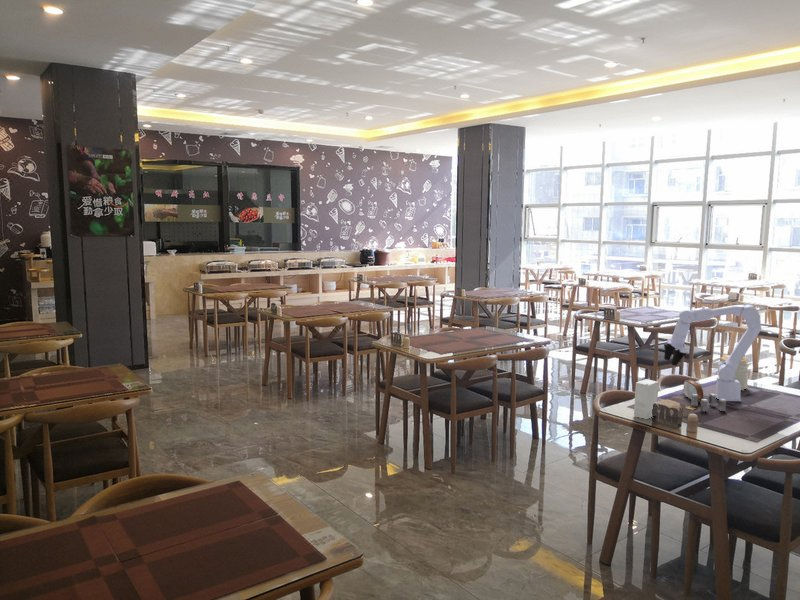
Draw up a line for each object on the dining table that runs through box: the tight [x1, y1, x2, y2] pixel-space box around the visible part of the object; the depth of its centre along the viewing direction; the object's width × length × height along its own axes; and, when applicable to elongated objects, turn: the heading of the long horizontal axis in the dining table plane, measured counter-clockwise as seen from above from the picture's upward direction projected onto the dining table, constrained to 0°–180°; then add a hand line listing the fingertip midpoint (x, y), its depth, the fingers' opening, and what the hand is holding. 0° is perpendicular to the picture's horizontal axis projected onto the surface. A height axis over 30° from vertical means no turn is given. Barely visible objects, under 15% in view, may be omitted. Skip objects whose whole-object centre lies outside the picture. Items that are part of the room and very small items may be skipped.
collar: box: [690, 393, 717, 407], centre depth 271 cm, size 10×2×5 cm, turn 92°
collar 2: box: [700, 398, 727, 413], centre depth 263 cm, size 10×2×5 cm, turn 92°
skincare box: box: [633, 378, 660, 420], centre depth 254 cm, size 8×6×15 cm
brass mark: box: [685, 406, 697, 411], centre depth 267 cm, size 4×4×1 cm
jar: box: [717, 354, 750, 391], centre depth 301 cm, size 13×13×18 cm
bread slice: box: [683, 379, 704, 403], centre depth 280 cm, size 15×3×8 cm, turn 179°
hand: (670, 362), depth 289 cm, fingers open, 7 cm apart
